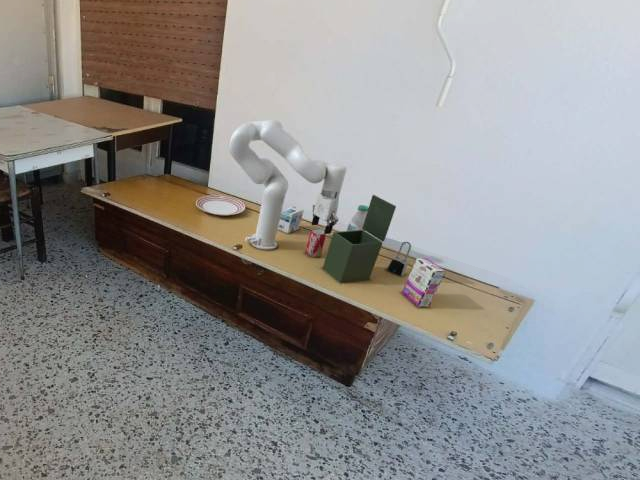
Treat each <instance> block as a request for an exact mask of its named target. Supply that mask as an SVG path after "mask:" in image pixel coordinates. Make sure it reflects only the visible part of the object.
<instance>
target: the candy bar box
mask: <svg viewBox="0 0 640 480" xmlns="http://www.w3.org/2000/svg"><path fill="white" fill-rule="evenodd" d="M445 274H446V270H445V269H443V268H442V267H440V266H439V265H437V264H436V263H435V262H433V261H432V260H430V259H429V258H427V257H417V258H416V259H415V261H414V264H413V265H412V268H411V271H410V273H409V275H408V277H407V279H406V282H405V284H404V287H403V289H402V291H401V294H402V295H404V296H405V297H406V298H407V299H408V300H409V301H410V302H412V304H414V305H415V306H416V307H417V308H429V307H430V305H431V303H432V301H433V299H434V297H435V295H436V293H437V291H438V289H439V286H440V284H441V282H442V280H443V278H444V276H445Z"/></svg>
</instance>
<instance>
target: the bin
mask: <svg viewBox="0 0 640 480" xmlns="http://www.w3.org/2000/svg"><path fill="white" fill-rule="evenodd" d="M383 245H384V241H383V242H382V241H381V240H379V239H378V238H376V237H374V236H373V235H371V234H370V233H368V232H366V231H364V230H354V231H347V230H343V231H333V233H332V235H331V239H330V242H329V246H328V249H327V253H326V255H325V259H324V262H323V265H322V270H324V271H325V272H326V273H327V274H329V275H330V276H331V277H332V278H334V279H335V280H336V281H337V282H338V283H340V284H341V283H349V282H358V281H367V280H368V281H369V280H370V278H371V275H372V273H373V270H374V267H375V264H376V263H377V260H378V257H379V254H380V252H381V249H382V246H383Z"/></svg>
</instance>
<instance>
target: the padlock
mask: <svg viewBox="0 0 640 480" xmlns="http://www.w3.org/2000/svg"><path fill="white" fill-rule="evenodd" d="M405 244H407V245H408V250H407V252H406V254H405V257H404V258H402V257H399V256H400V254H401V251H402V249H403V247H404V245H405ZM411 249H412V244H411V243H410V242H409V241H403V242H402V243H401V245H400V247H399V249H398V251H397V254H396V256H395V257H393V258H392V259H391V260H390V262H389V264H388V266H387V268H386V271H387V272H389V273H391V274H393V275H397V276H399V277H403V276H405V275H406V273H407V270H408V266H409V261H408V257H409V254H410V252H411Z"/></svg>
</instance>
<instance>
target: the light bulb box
mask: <svg viewBox="0 0 640 480" xmlns="http://www.w3.org/2000/svg"><path fill="white" fill-rule="evenodd" d="M303 214H304V209H302V208H300V207H297V206H294V205H292V206H290V207H287V208H285V209H282V212H281V216H280V221H279V225H278V229H277V231H281V232H283V233H286V234H290V233H292V232H296V231H298V230H300V225H301V223H302V218H303Z"/></svg>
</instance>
